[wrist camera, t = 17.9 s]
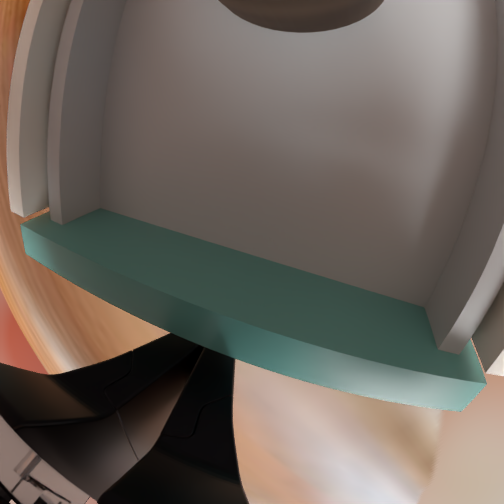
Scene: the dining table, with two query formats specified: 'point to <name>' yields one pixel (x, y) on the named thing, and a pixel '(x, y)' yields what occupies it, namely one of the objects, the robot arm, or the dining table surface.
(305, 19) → the pepper mill
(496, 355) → the tray sleeve
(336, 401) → the dining table surface
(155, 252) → the grey tray
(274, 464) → the dining table surface
